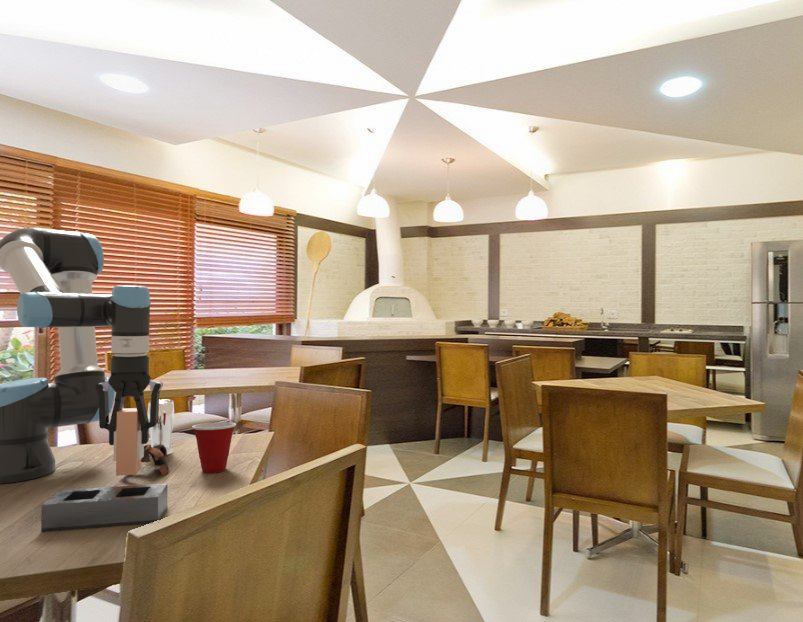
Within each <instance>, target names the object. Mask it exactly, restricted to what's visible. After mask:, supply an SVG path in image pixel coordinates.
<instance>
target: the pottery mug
mask: <svg viewBox="0 0 803 622" xmlns="http://www.w3.org/2000/svg"><path fill="white" fill-rule="evenodd" d="M149 454H150V455H151V456H150V455H149ZM167 456H168V455H167V450H166V448H165V446H163V445H157V446H155V447H154V448H152V447H151V443H147V444H144V457H143V458H142V459H141V463H150V462H152V460H153V462H154V466H155V467H156V466H157V467H159V468H158V471H159V472H160V475H161V477H163V476H165V475H166V474H167V473H168V472H169V471H170V469H169V466H168V464H167V463H168V462H167V461H166V458H167ZM150 457H151V458H152V460H151V458H150Z"/></svg>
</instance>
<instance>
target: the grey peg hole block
mask: <svg viewBox="0 0 803 622" xmlns="http://www.w3.org/2000/svg"><path fill="white" fill-rule="evenodd" d="M40 508H41V512H40V513H41V515H40V517H41V518H40V519H41V522H40V523H41V525H40V526H41V530H40V532H41V533H44V532H45V533H47V532H57V531H59V532H60V531H70V530H81V529H82V530H84V529H85V530H86V529H94V528H95V529H96V528H109V527H120V526H133V525H134V526H135V525H146V524H148V523H149V524H152V523H151V522H154V521H157V520H159V521H160V520H161V519H162V517H163V515H164V514H165V512H166V510H167V509H168V482H167V483H153V484H141V485H139V484H138V485H137V484H136V485H135V484H134V485H123V486H105V487H92V488H91V487H89V488H88V487H87V488H73V489H60V490H58V491H57V492H56V493H55V494H54V495H52V496H51V497H50V498H48V499H47V500H46V501H44V502H43V503H42V504H41V507H40ZM46 531H47V532H46Z"/></svg>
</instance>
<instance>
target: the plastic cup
mask: <svg viewBox="0 0 803 622" xmlns="http://www.w3.org/2000/svg"><path fill="white" fill-rule="evenodd" d="M236 426H237V423H236V422H232V421H231V422H229V421H226V422H225V421H224V422H222V421H220V422H204V423H198V424H194V425H192V426H191V428H192V429H193V431H194V435H195V439H196V445H197V450H198V456H199V457H198V458H199V460H200V467H201V470H202V472H203V473H204V474H217V473H220V472H221V473H222V472H223V471H225V470H226V467H227V465H228V459H229V458H228V457H229V455H230V449H231V443H232V438H233V434H234V429H235V428H236Z"/></svg>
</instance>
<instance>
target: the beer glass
mask: <svg viewBox="0 0 803 622" xmlns="http://www.w3.org/2000/svg"><path fill="white" fill-rule="evenodd" d="M147 406H148V408H147V415H148V420H149V422H150V409H151V400H150V401H149V402H148V405H147ZM174 422H175V404H174V399H159V414H158V423H157V424H156V425H155V426H154V427H151V428H149V440H150V445H151V447H152V448H154V447H155V446H157V445H163V446H165V448H166V450H167V455H166V456H168V455H171V454H172V453H173V448H172V434H173V428H174ZM149 456H150V457H151V455H150V454H149Z"/></svg>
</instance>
